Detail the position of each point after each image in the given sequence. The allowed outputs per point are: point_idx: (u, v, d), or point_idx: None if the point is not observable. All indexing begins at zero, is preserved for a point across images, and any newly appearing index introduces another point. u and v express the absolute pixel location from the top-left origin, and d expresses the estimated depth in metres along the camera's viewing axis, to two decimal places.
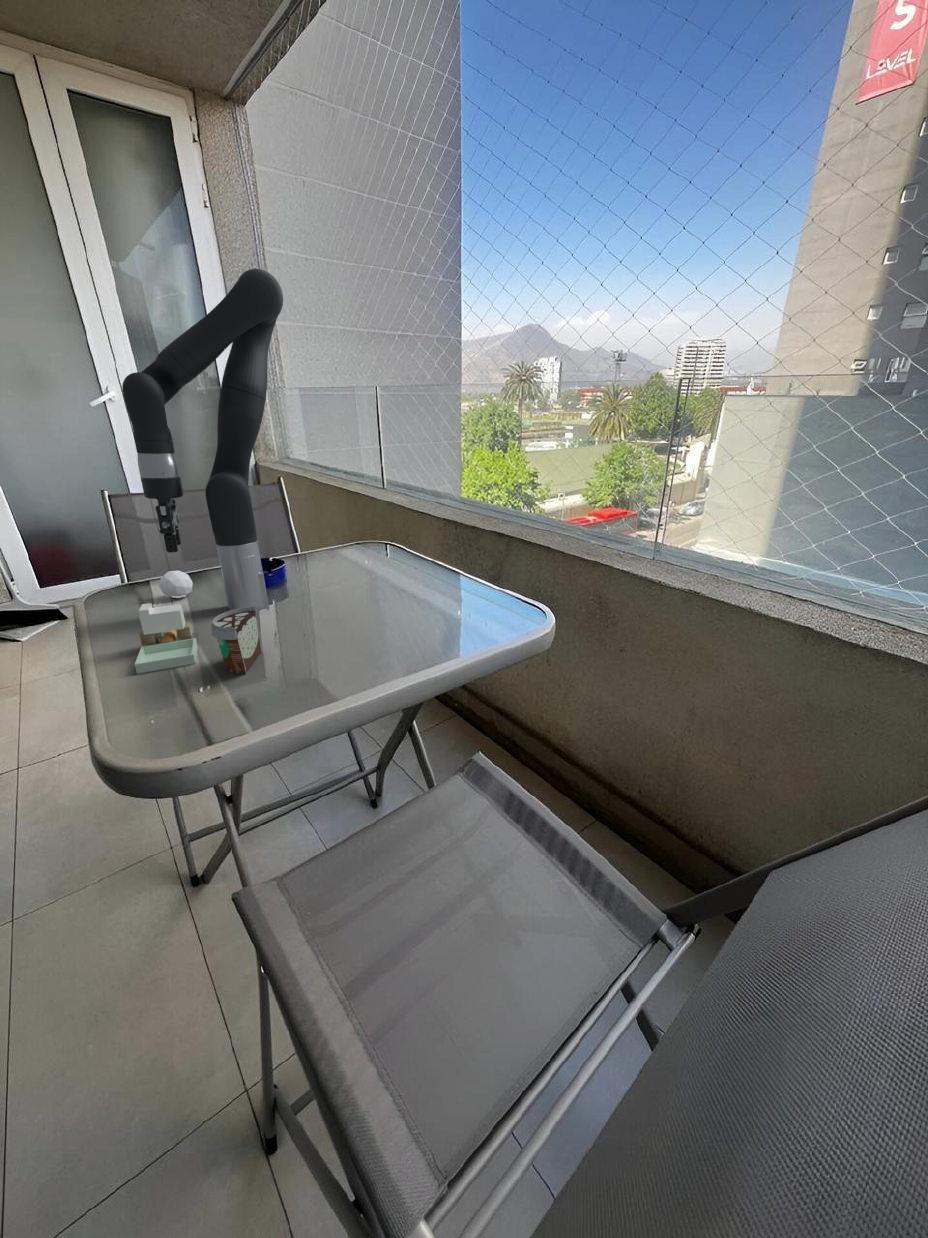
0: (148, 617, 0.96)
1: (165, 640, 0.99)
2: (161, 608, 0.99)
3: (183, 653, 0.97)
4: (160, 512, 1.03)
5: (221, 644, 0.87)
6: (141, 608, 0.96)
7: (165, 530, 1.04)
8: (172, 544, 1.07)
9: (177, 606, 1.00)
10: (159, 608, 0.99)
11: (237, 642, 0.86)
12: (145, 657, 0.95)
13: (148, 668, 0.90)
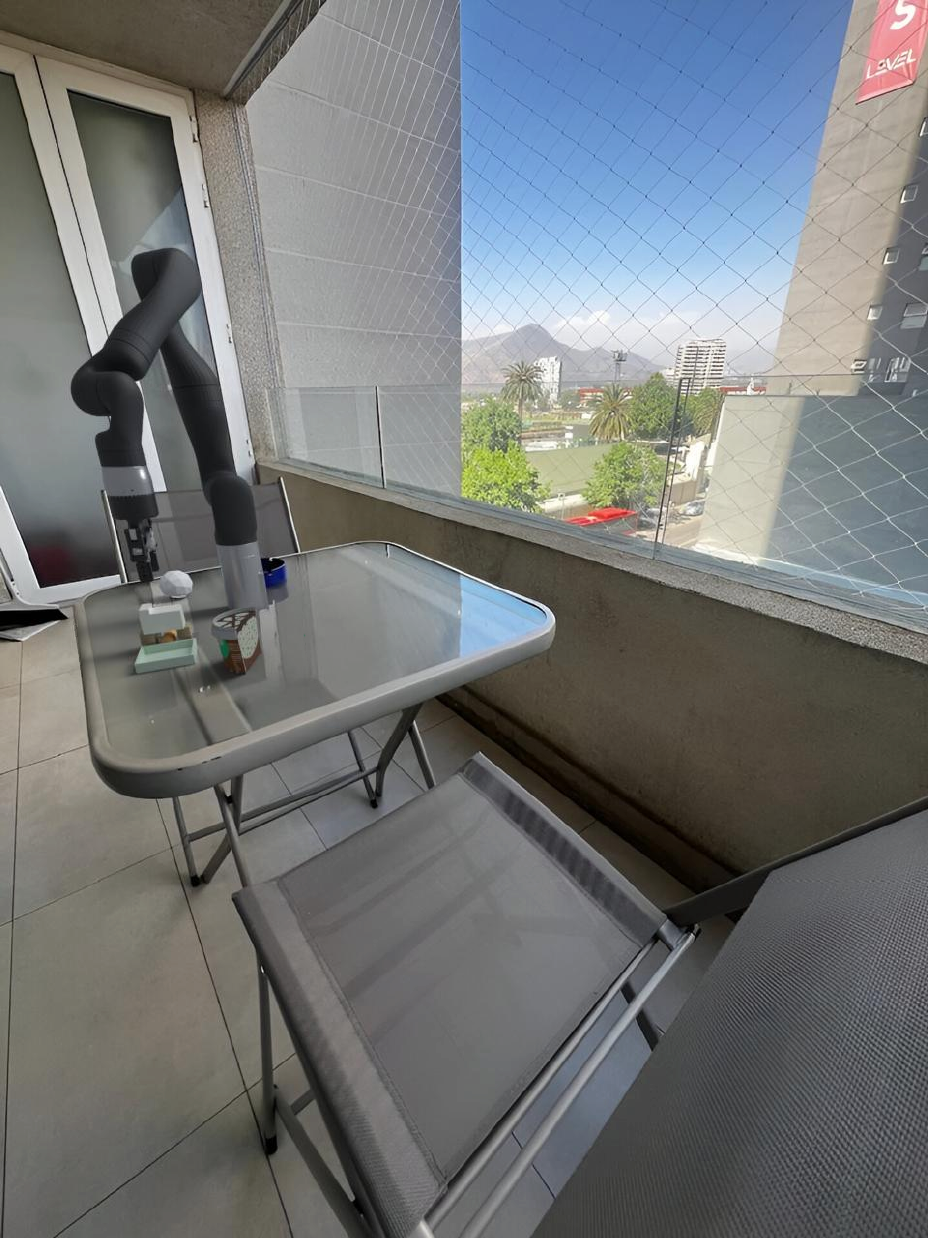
0: (148, 617, 0.96)
1: (165, 640, 0.99)
2: (161, 608, 0.99)
3: (183, 653, 0.97)
4: (130, 537, 0.87)
5: (221, 644, 0.87)
6: (141, 608, 0.96)
7: (136, 557, 0.88)
8: (146, 573, 0.91)
9: (177, 606, 1.00)
10: (159, 608, 0.99)
11: (237, 642, 0.86)
12: (145, 657, 0.95)
13: (148, 668, 0.90)
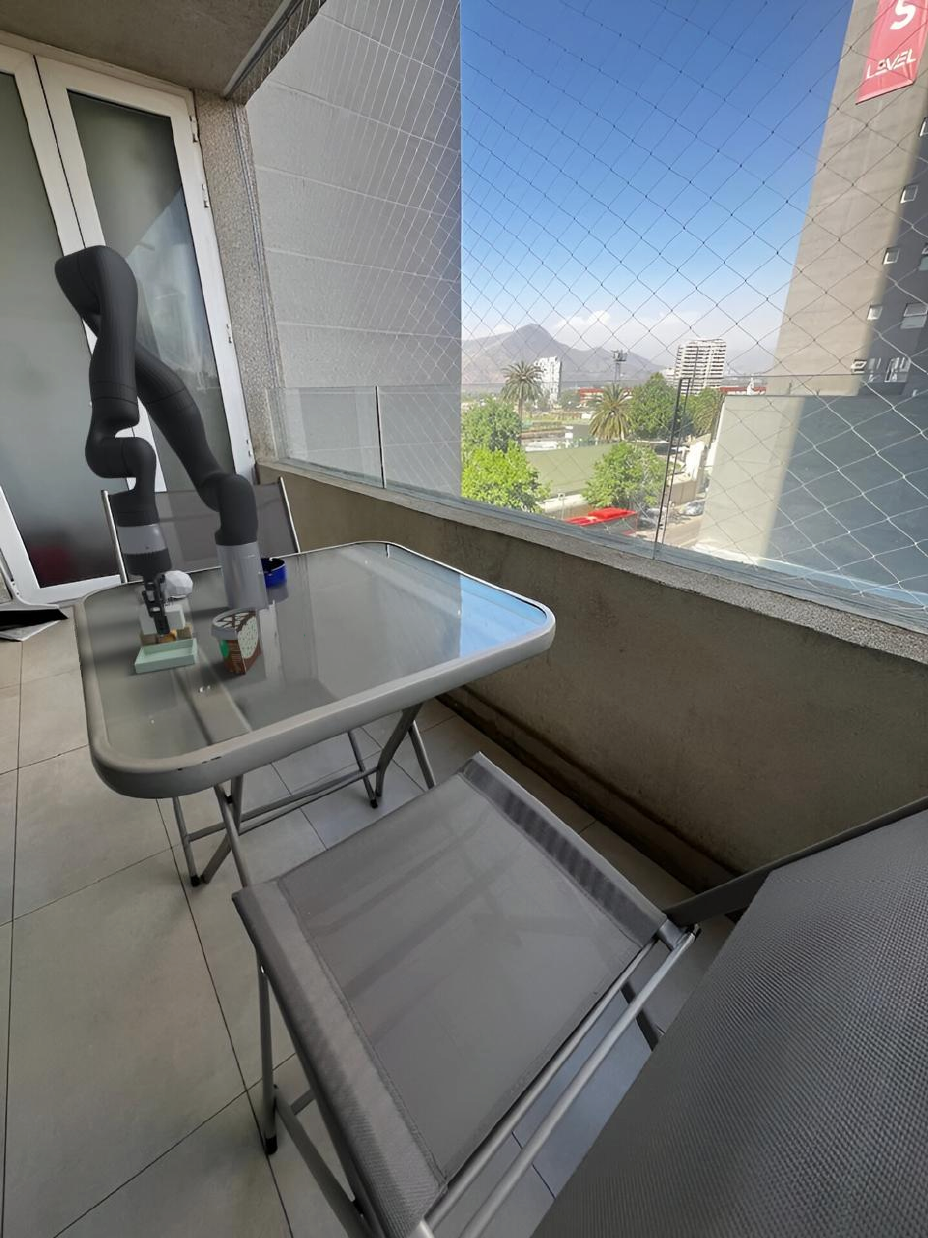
0: (148, 617, 0.96)
1: (165, 640, 0.99)
2: None
3: (183, 653, 0.97)
4: (148, 598, 0.91)
5: (221, 644, 0.87)
6: (141, 608, 0.96)
7: (154, 613, 0.93)
8: (163, 626, 0.96)
9: (177, 606, 1.00)
10: None
11: (237, 642, 0.86)
12: (145, 657, 0.95)
13: (148, 668, 0.90)
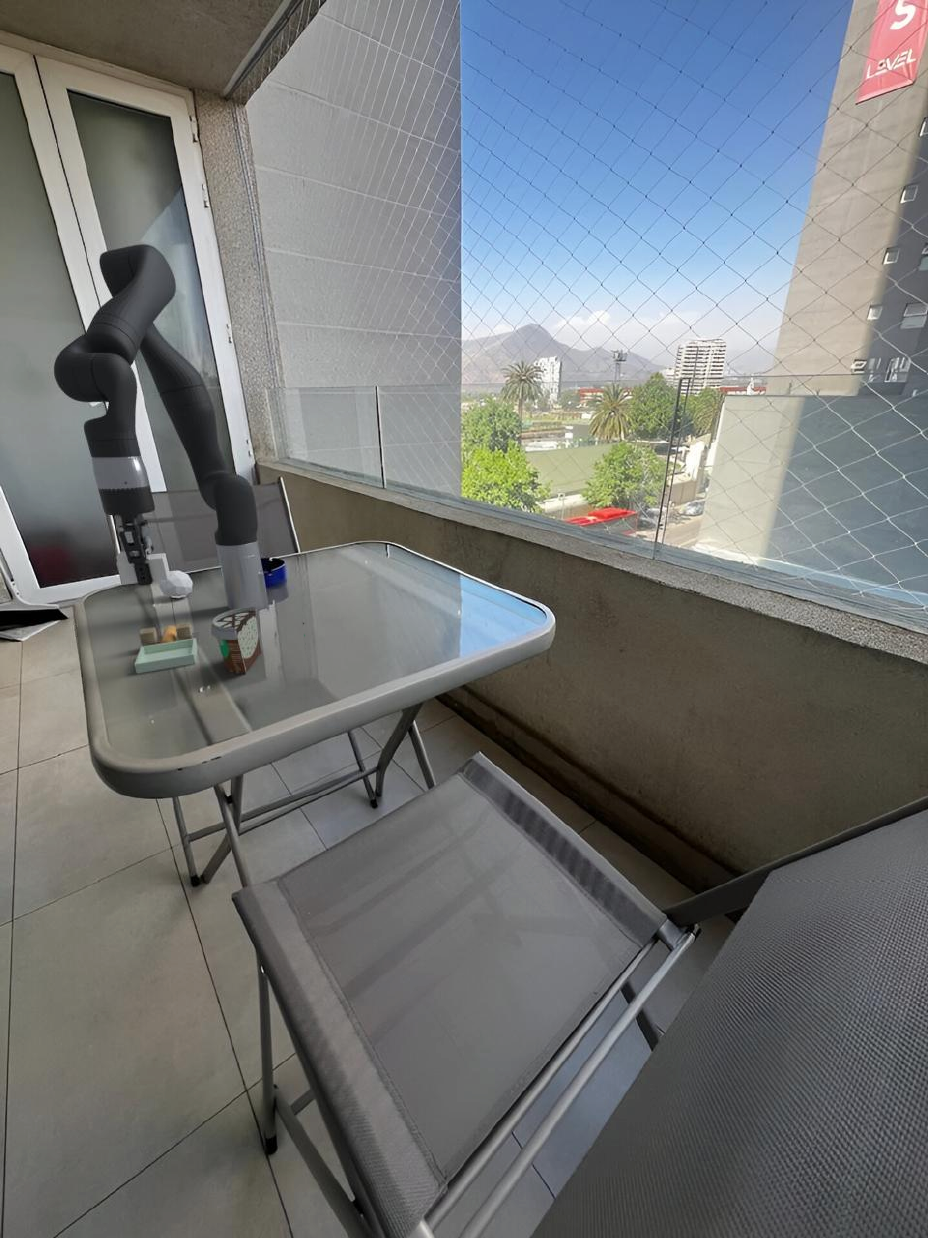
0: (127, 565, 0.85)
1: (165, 640, 0.99)
2: None
3: (183, 653, 0.97)
4: (126, 540, 0.81)
5: (221, 644, 0.87)
6: (119, 554, 0.86)
7: (134, 559, 0.83)
8: (145, 575, 0.86)
9: (160, 555, 0.89)
10: None
11: (237, 642, 0.86)
12: (145, 657, 0.95)
13: (148, 668, 0.90)
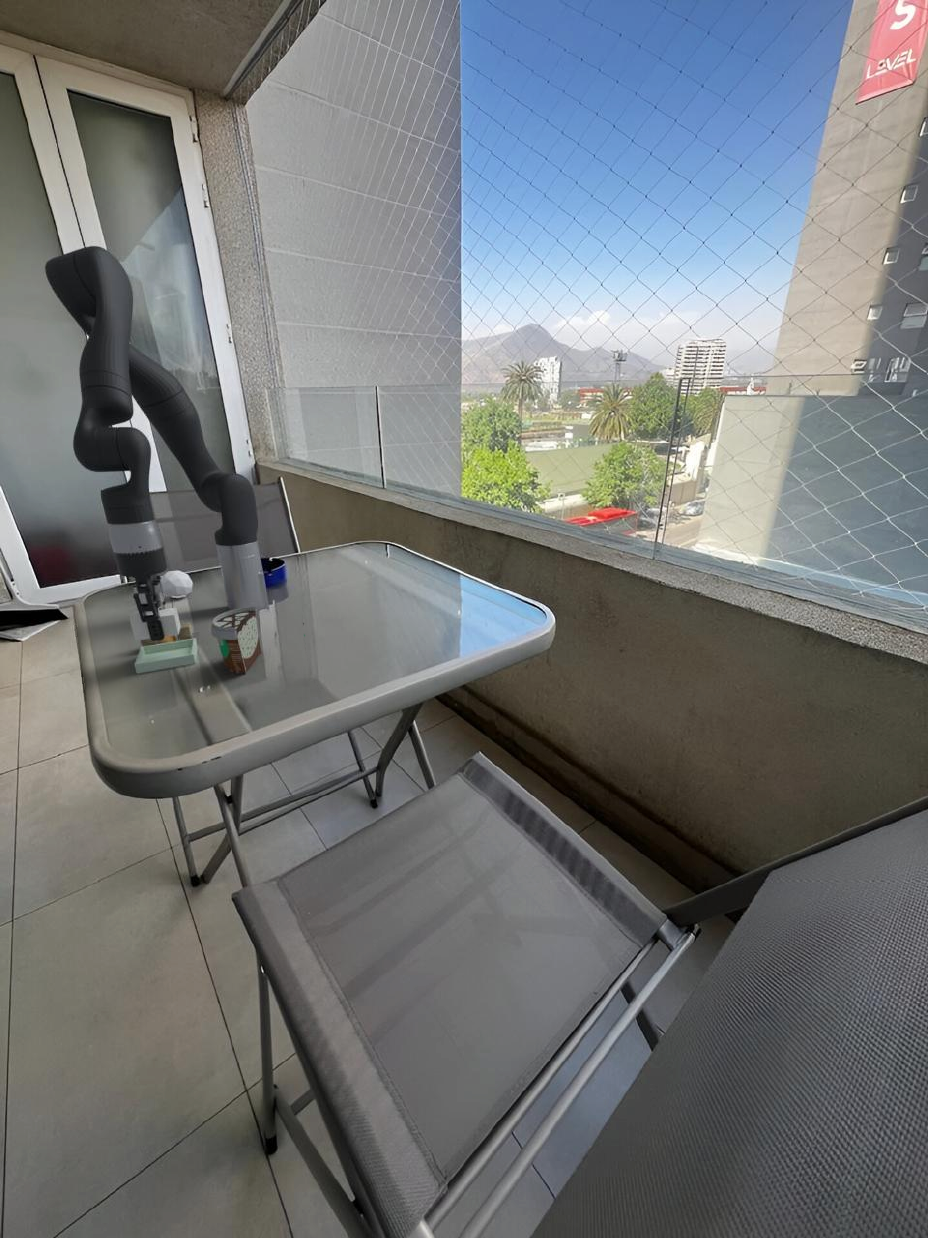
0: (140, 622, 0.89)
1: (165, 640, 0.99)
2: None
3: (183, 653, 0.97)
4: (140, 602, 0.84)
5: (221, 644, 0.87)
6: (133, 612, 0.89)
7: (147, 618, 0.87)
8: (157, 632, 0.90)
9: (171, 610, 0.93)
10: None
11: (237, 642, 0.86)
12: (145, 657, 0.95)
13: (148, 668, 0.90)
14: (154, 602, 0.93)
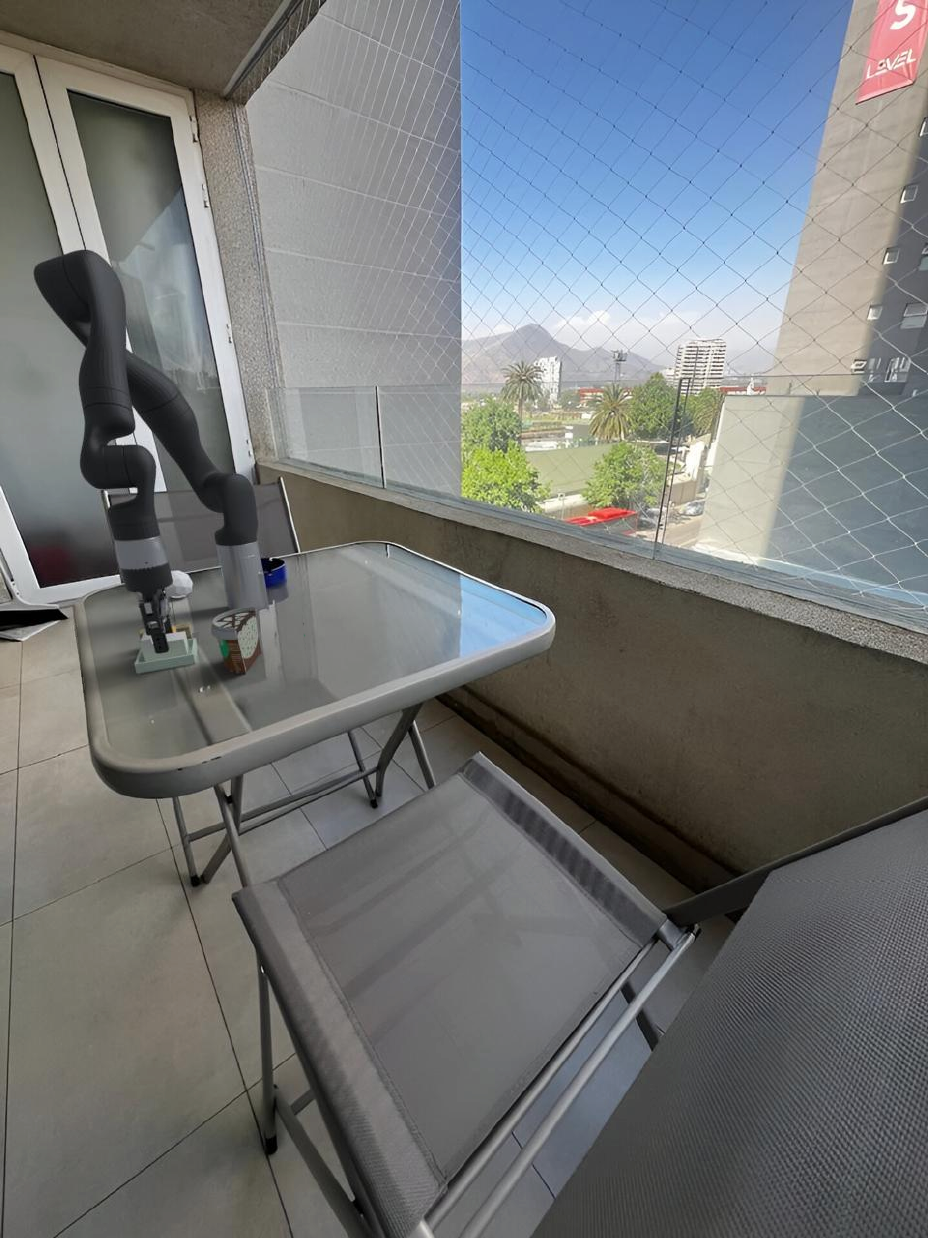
0: (151, 647, 0.91)
1: None
2: None
3: None
4: (145, 611, 0.85)
5: (221, 644, 0.87)
6: (143, 637, 0.92)
7: (152, 631, 0.86)
8: (162, 644, 0.89)
9: (180, 634, 0.95)
10: None
11: (237, 642, 0.86)
12: None
13: (148, 668, 0.90)
14: None
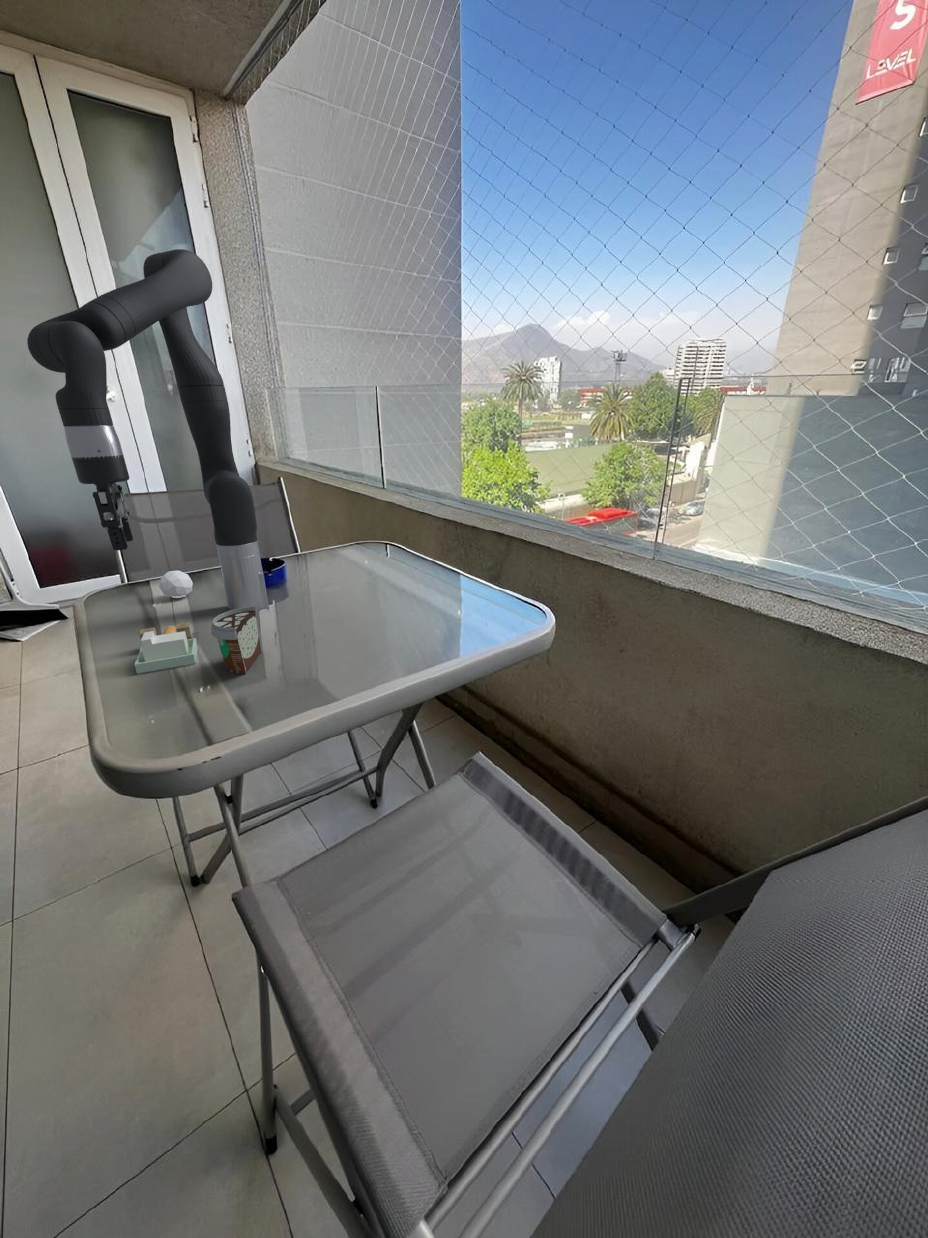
0: (151, 647, 0.91)
1: None
2: (164, 637, 0.94)
3: None
4: (100, 500, 0.82)
5: (221, 644, 0.87)
6: (143, 637, 0.92)
7: (108, 522, 0.83)
8: (119, 540, 0.86)
9: (180, 634, 0.95)
10: (162, 636, 0.94)
11: (237, 642, 0.86)
12: None
13: (148, 668, 0.90)
14: None
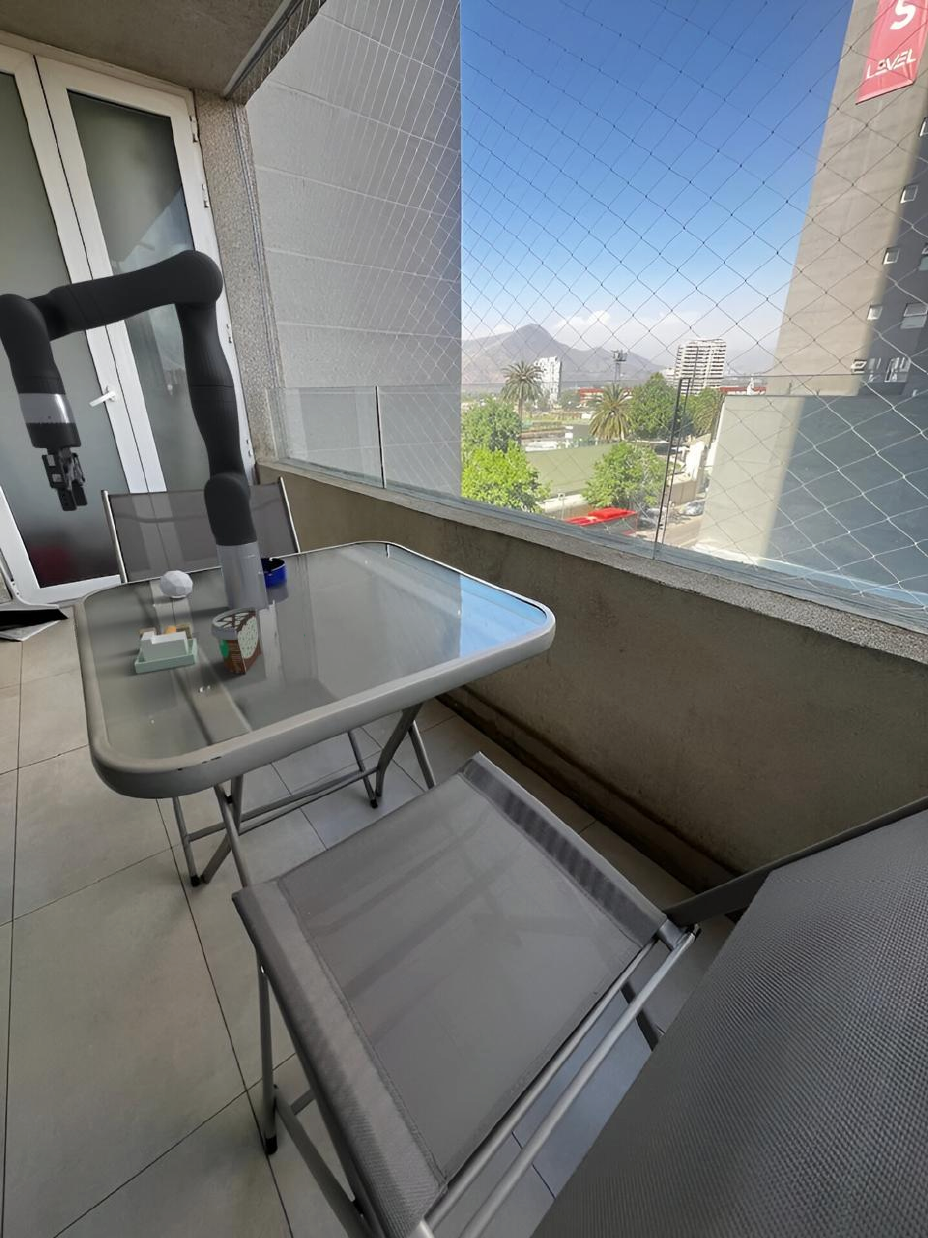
0: (151, 647, 0.91)
1: None
2: (164, 637, 0.94)
3: None
4: (48, 462, 0.89)
5: (221, 644, 0.87)
6: (143, 637, 0.92)
7: (56, 483, 0.90)
8: (68, 501, 0.93)
9: (180, 634, 0.95)
10: (162, 636, 0.94)
11: (237, 642, 0.86)
12: None
13: (148, 668, 0.90)
14: None
